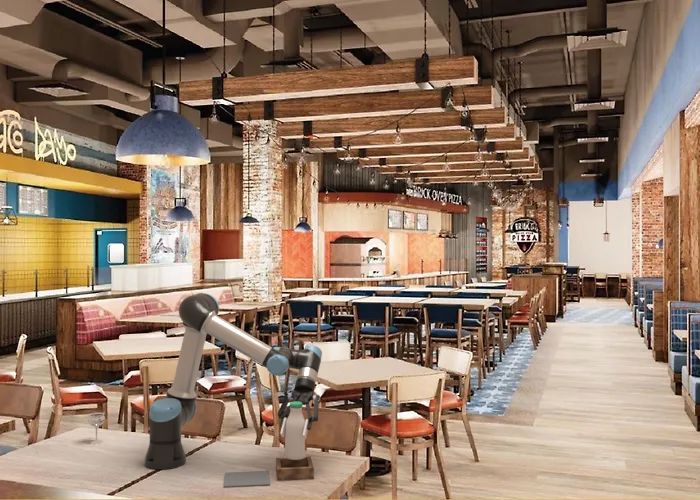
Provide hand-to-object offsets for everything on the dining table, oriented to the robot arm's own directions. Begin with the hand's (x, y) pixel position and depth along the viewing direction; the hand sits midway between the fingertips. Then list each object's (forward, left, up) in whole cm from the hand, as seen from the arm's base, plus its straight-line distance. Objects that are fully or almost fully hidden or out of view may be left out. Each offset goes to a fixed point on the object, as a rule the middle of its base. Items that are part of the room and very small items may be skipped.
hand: (293, 436), depth 248 cm
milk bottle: (+1, +3, -9) cm, 10 cm away
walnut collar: (+1, +3, -15) cm, 15 cm away
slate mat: (-16, -1, -15) cm, 22 cm away
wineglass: (-79, +52, -15) cm, 96 cm away
